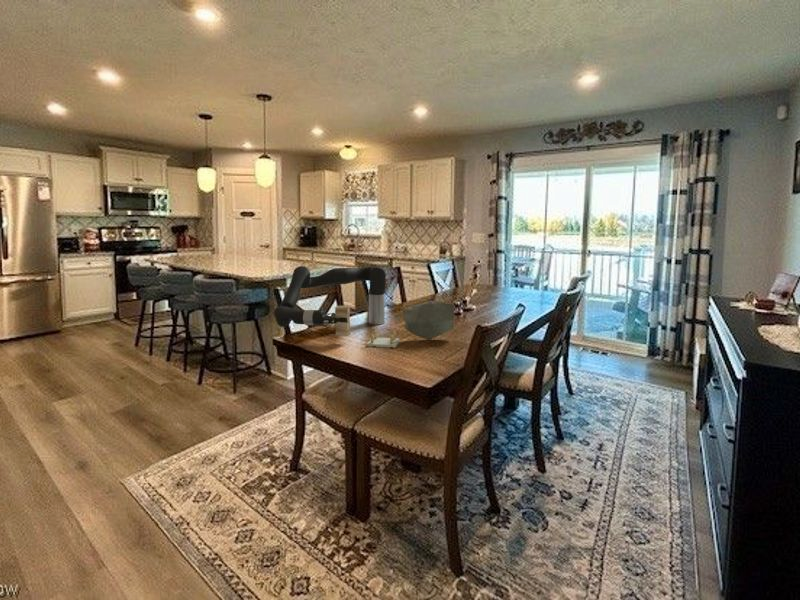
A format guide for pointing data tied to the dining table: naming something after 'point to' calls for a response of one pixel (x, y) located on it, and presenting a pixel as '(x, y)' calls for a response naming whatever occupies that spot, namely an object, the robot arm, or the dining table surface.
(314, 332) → the dining table surface
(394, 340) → the peg board
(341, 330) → the tan wooden block
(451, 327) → the rock
